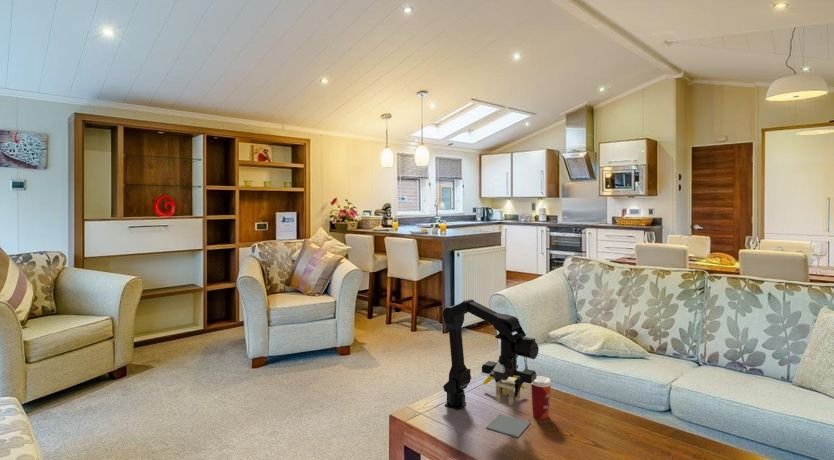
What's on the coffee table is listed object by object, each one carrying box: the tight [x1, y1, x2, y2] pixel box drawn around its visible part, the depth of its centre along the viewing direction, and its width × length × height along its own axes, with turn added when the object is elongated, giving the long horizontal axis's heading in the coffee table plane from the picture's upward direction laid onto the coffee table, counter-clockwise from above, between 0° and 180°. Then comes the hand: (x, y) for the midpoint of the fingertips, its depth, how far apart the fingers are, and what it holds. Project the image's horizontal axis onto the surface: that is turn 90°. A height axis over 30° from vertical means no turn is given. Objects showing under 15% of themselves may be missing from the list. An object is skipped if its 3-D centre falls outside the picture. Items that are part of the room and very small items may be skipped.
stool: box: [495, 377, 521, 406], centre depth 163 cm, size 8×6×7 cm
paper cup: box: [530, 375, 552, 420], centre depth 171 cm, size 8×8×14 cm
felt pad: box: [485, 413, 531, 439], centre depth 164 cm, size 12×12×1 cm
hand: (508, 395), depth 163 cm, fingers closed on stool, 5 cm apart
